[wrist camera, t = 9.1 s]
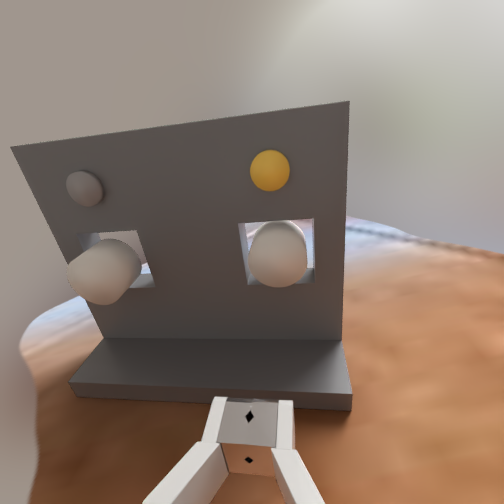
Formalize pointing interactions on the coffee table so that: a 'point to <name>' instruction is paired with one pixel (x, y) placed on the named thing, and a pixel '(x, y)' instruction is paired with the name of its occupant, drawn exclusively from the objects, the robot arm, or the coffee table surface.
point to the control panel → (208, 254)
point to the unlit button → (104, 271)
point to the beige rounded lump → (278, 254)
